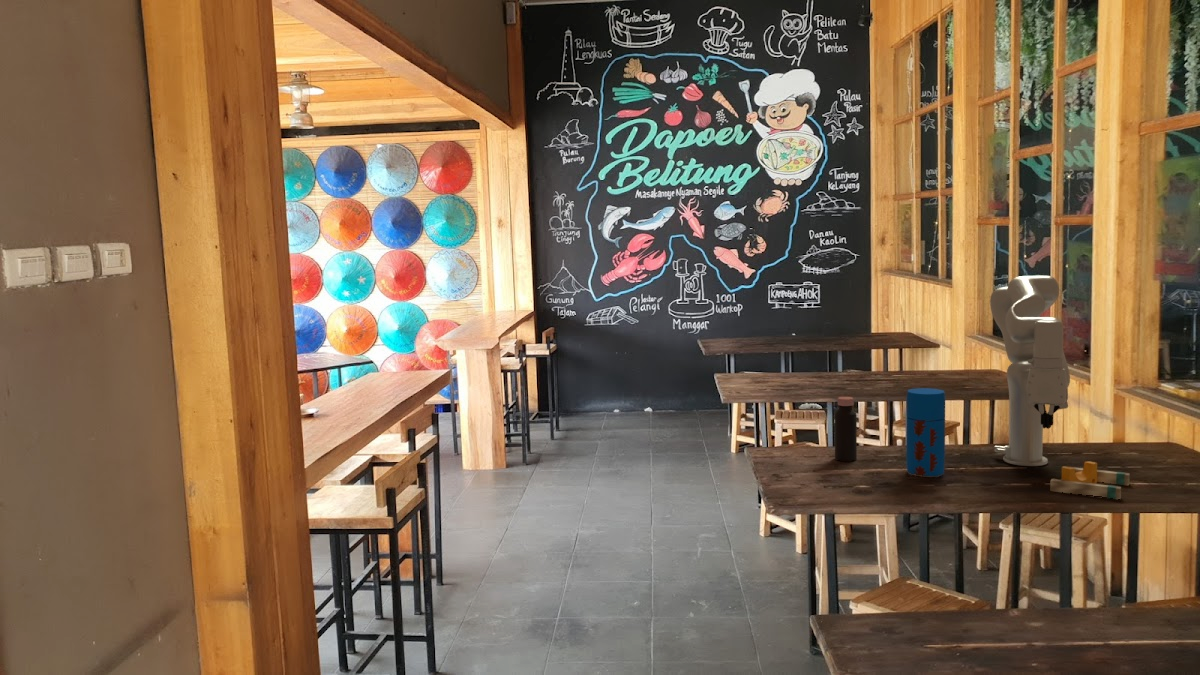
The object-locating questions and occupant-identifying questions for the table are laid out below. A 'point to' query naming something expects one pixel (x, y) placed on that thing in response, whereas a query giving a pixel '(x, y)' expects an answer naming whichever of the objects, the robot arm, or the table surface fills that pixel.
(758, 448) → the table surface
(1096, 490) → the channel
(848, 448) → the bottle
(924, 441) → the thermos
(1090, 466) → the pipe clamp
